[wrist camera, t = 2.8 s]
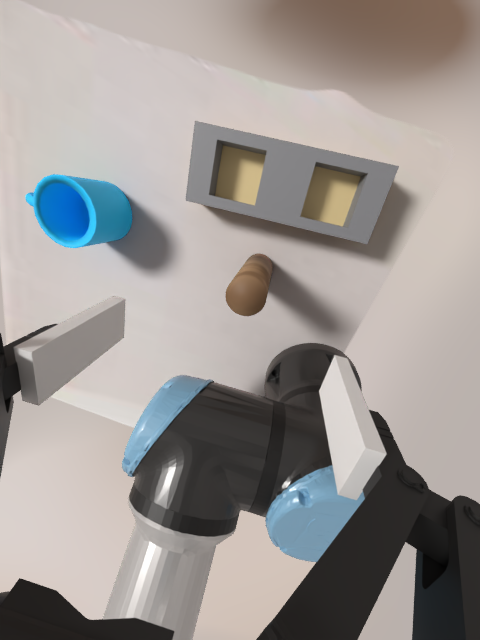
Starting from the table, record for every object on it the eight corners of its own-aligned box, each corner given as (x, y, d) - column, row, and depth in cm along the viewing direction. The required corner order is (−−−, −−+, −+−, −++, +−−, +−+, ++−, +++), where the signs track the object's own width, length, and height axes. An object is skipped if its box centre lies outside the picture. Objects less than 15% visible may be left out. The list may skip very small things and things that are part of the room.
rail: (382, 172, 32) (398, 166, 27) (356, 239, 35) (367, 244, 31) (207, 132, 33) (195, 120, 29) (198, 201, 36) (185, 200, 32)
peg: (275, 277, 39) (271, 310, 26) (249, 284, 40) (232, 319, 27) (268, 250, 37) (259, 271, 25) (241, 258, 38) (220, 282, 26)
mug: (134, 189, 37) (97, 184, 30) (130, 247, 41) (95, 256, 33) (55, 167, 38) (-1, 157, 30) (57, 226, 41) (7, 229, 34)
